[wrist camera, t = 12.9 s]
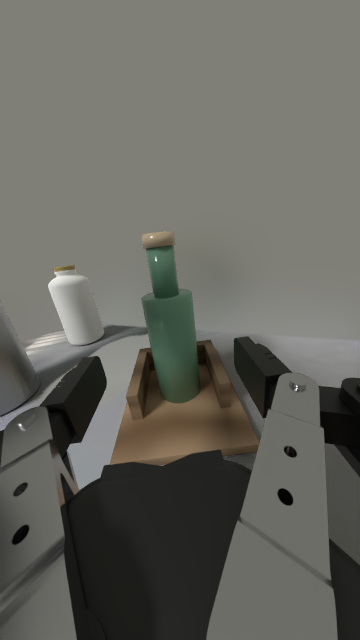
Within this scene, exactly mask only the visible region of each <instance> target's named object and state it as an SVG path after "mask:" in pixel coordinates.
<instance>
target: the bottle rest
mask: <svg viewBox="0 0 360 640" xmlns="http://www.w3.org/2000/svg"><path fill="white" fill-rule="evenodd" d="M196 343H197V354H198V365H199V375H200V386H201V387H200V391H199V393H198V395H197V396H196V397H195V398H194V399H192V400H190V401H188V402H185V403H171V402H168V401H166V400H165V399H163V398H162V396H161V394H160V390H159V385H158V380H157V375H156V370H155V365H154V360H153V355H152V350H151V348H145V349H140V351H139V354H138V358H137V361H136V364H135V368H134V371H133V375H132V378H131V382H130V385H129V388H128V392H127V395H126V399H127V404H126V407H125V411H124V415H123V418H122V422H121V426H120V429H119V433H118V436H117V440H116V444H115V447H114V451H113V454H112V458H111V462H110V465H112V464H119V463H126V462H139V463H145V464H151V465H164V464H169V463H171V462H173V461H176V460H178V459H180V458H183V457H185V456H187V455H189V454H192V453H198V452H205V451H212V450H220V449H221V452H222V456H230V455H237V454H244V453H251V452H257V451H258V447H259V440H258V438H257V436H256V434H255V432H254V430H253V428H252V426H251V423H250V421H249V419H248V417H247V415H246V413H245V411H244V409H243V406H242V404H241V402H240V400H239V398H238V396H237V394H236V392H235V389H234V387H233V385H232V383H231V381H230V379H229V377H228V375H227V372H226V370H225V368H224V366H223V364H222V362H221V360H220V358H219V355H218V353H217V351H216V349H215V348H214V346H213V344H212V342H211V340H206V341H198V342H196Z"/></svg>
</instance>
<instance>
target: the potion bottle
mask: <svg viewBox="0 0 360 640" xmlns="http://www.w3.org/2000/svg"><path fill="white" fill-rule="evenodd" d="M54 270H55V272H54V273H55V274H56V276H57V277H56V278H55V279H53V280H52V281H51V282H50V283H49V285H48V287H49V291H50V293H51V296H52V298H53V301H54V304H55V306H56V309H57V312H58V314H59V317H60V319H61V322H62V325H63V327H64V330H65V333H66V335H67V338H68V341H69V343H71V344H72V345H77V346H79V345H86V344H90V343H93V342H95V341H97V340H99V339H100V338H101V337H102V336H103V334H104V329H103V325H102V322H101V319H100V316H99V312H98V308H97V305H96V301H95V298H94V295H93V292H92V288H91V284H90V281H89V279H88V278H87V277H85V276H83V275H79V274H77V273H76V269H75V267H74V265H71V266H63V267H55V268H54Z"/></svg>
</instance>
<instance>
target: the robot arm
mask: <svg viewBox="0 0 360 640" xmlns="http://www.w3.org/2000/svg"><path fill="white" fill-rule="evenodd" d="M234 364H235V368H236V371H237V373H238V375H239V376H240V378H241V380H242V382H243V383H244V385H245V387H246V389H247V390H248V392H249V394H250V396H251V398H252V399H253V401H254V403H255V405H256V406H257V408H258V410H259V412H260V414H261V415H262V417H263V418H266V420H265V424H264V428H263V432H262V436H261V439H260V443H259V447H258V451H257V454H256V458H255V462H254V466H253V470H250V469H248V468H246V467H244V466H242V465H240V464H238V463H235V462H232V461H228V460H223V456H222V452H221V449H220V450H212V451H205V452H198V453H192V454H189V455H187V456H185V457H183V458H180V459H178V460H176V461H173V462H171V463H169V464H166V465H164V466H158V465H151V464H145V463H139V462H126V463H119V464H112V465H105V466H104V467H103V471H102V474H101V477H100V478H99V479H97V480H95V481H93V482H91V483H90V484H88V485H87V486H85V487H84V488H82V489H81V490H80V491H79V489H78V485H77V481H76V478H75V474H74V470H73V466H72V463H71V459H70V455H69V452H68V450H67V449H68V447H69V445H70V444H73V443H80V442H81V441H82V439H83V437H84V435H85V433H86V431H87V428H88V426H89V424H90V422H91V420H92V417H93V415H94V413H95V411H96V409H97V407H98V404H99V402H100V400H101V398H102V396H103V393H104V391H105V389H106V385H107V381H106V376H105V373H104V369H103V366H102V363H101V360H100V358H99V357H98V356H94V357H86V358H83V359H82V360H81V362H80V363H79V364H78V365H77V367H75V368H73V369H72V370H71V371H69V372H68V373H67V374H66V375H65V376H64V377H63V378H62V380H61V382H59V383H58V385H57V386H56V388H54V389H53V391H52V392H51V393H50V394H49V395H48V396H47V398H46V399H45V400H44V401H43V402H42V404H41V405H40V406H39V407H35V408H31V409H29V410H27V411H25V412H23V413H21V414H19V415H18V416H17V417H15V418H14V419H13V420H12V421H11V422H10V423H9V424H8V425H7V426H6V428H5V430H2V431H0V640H360V565H359V564H358V563H357V562H355V561H354V560H353V559H352V558H351V557H350V556H349V555H348V554H346V553H345V552H344V551H343V550H342V549H341V548H340V547H339V546H337V545H336V544H335V543H334V542H333V541H332V540H331V539H330V538H329V536H328V513H327V490H326V467H325V444H324V443H329V444H334V445H335V446H336V447H337V449H338V450H339V451H340V453H341V454H342V455H343V456H344V458H345V459H346V460H347V461H348V463H349V464H350V465H351V467H352V468H353V469H354V470H355V472H356V473H357V474H358V475H359V477H360V378H347V379H345V380H343V381H342V385H341V388H334V387H323V386H318V385H317V384H316V382H315V381H313V380H312V379H310V378H309V377H307V376H304V375H301V374H297V373H292V372H291V371H290V370H289V369H288V368H287V367H286V366H285V365H284V364H283V363H282V362H281V361H280V360H279V359H278V358H276V356H275V355H274V354H272V352H271V351H270V350H269V349H268V348H267V347H265V346H263V345H261V344H259V343H258V344H255V343H254V342H253V341H252V340H251V339H250V338H249V337H248V336H247V337H240V338H235V339H234ZM39 386H40V381H39V379H38V377H37V374H36V372H35V370H34V368H33V366H32V364H31V362H30V360H29V358H28V356H27V354H26V352H25V350H24V348H23V346H22V344H21V342H20V340H19V338H18V335H17V333H16V331H15V329H14V327H13V325H12V323H11V321H10V319H9V317H8V315H7V313H6V311H5V309H4V307H3V305H2V303H1V301H0V416H1V415H3V414H5V413H7V412H9V411H11V410H13V409H14V408H16V407H18V406H19V405H21V404H22V403H24V402H25V401H26V400H28V399H29V398H30V397H31V396H32V395H33V394H34V393H35V392H36V391H37V390H38V388H39Z"/></svg>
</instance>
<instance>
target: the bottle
mask: <svg viewBox="0 0 360 640" xmlns="http://www.w3.org/2000/svg"><path fill="white" fill-rule="evenodd" d="M142 242H143V248H144V249H146V253H147V259H148V265H149V270H150V276H151V282H152V288H153V293H150V294H147V295H145V296H143V297H142V298H141V299H142V305H143V310H144V315H145V320H146V325H147V330H148V335H149V340H150V345H151V350H152V355H153V360H154V365H155V370H156V375H157V380H158V385H159V390H160V394H161V396H162V398H163V399H165V400H166V401H168V402H171V403H185V402H188V401H190V400H192V399H194V398H195V397H196V396H197V395H198V393H199V391H200V387H201V386H200V375H199V365H198V354H197V343H196V332H195V322H194V312H193V302H192V301H193V300H192V292H191V291H190V290H186V289H179V288H178V280H177V273H176V263H175V255H174V247H173V245H175V238H174V232H172V231H167V232H157V233H150V234H145V235H142Z"/></svg>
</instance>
